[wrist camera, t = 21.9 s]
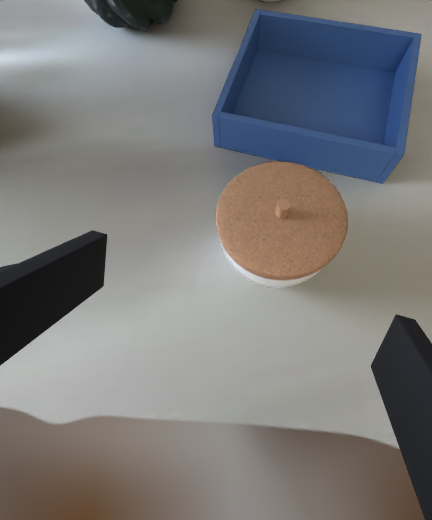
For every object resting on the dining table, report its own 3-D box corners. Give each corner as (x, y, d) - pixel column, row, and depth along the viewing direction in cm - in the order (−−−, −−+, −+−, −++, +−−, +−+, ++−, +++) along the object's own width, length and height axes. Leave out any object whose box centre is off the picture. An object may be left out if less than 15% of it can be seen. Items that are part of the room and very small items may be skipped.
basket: (214, 146, 39) (211, 115, 34) (253, 46, 44) (255, 8, 40) (382, 183, 36) (403, 155, 31) (401, 71, 41) (421, 33, 37)
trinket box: (198, 254, 34) (185, 209, 25) (264, 188, 36) (274, 126, 27) (278, 323, 31) (296, 300, 22) (344, 246, 33) (384, 198, 24)
